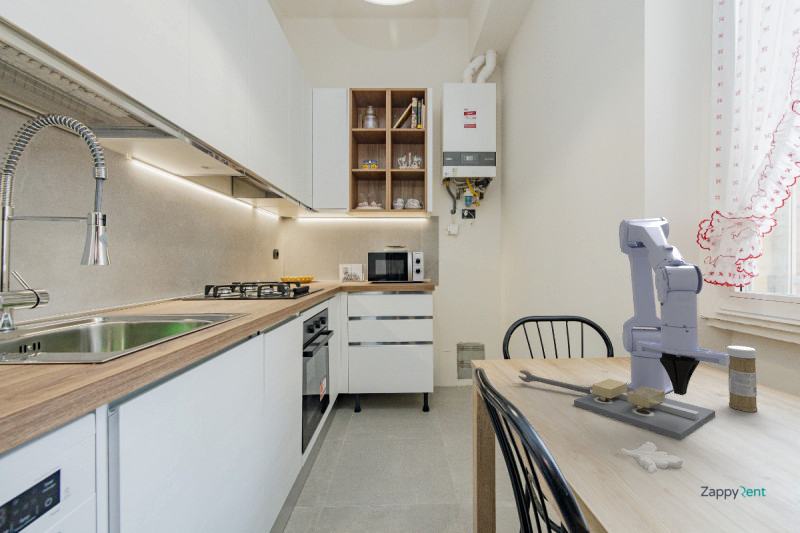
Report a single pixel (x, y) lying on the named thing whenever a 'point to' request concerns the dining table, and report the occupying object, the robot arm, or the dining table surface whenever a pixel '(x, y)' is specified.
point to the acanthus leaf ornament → (653, 457)
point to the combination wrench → (554, 382)
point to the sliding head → (646, 397)
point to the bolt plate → (645, 410)
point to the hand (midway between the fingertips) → (680, 393)
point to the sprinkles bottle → (742, 378)
